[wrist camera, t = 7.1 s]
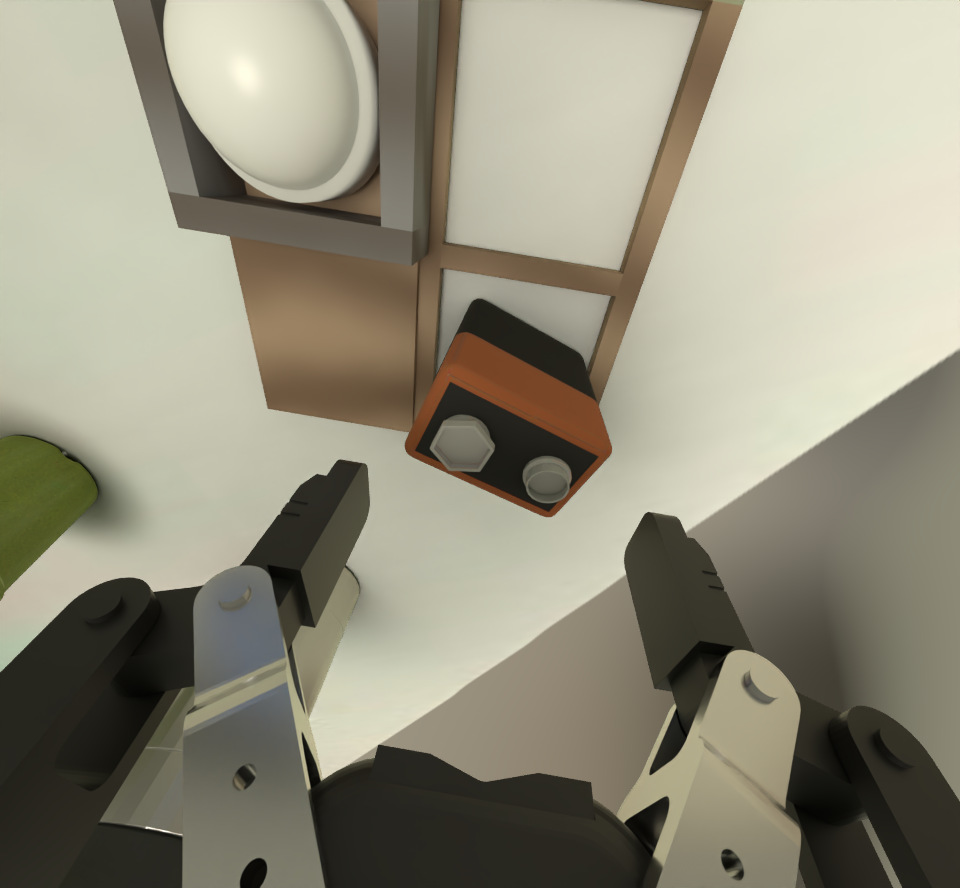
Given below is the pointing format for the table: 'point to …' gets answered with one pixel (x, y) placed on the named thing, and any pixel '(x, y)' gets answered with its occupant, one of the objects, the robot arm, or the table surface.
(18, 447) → the plant pot
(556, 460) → the battery
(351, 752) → the table surface
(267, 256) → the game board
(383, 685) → the table surface
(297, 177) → the dome
